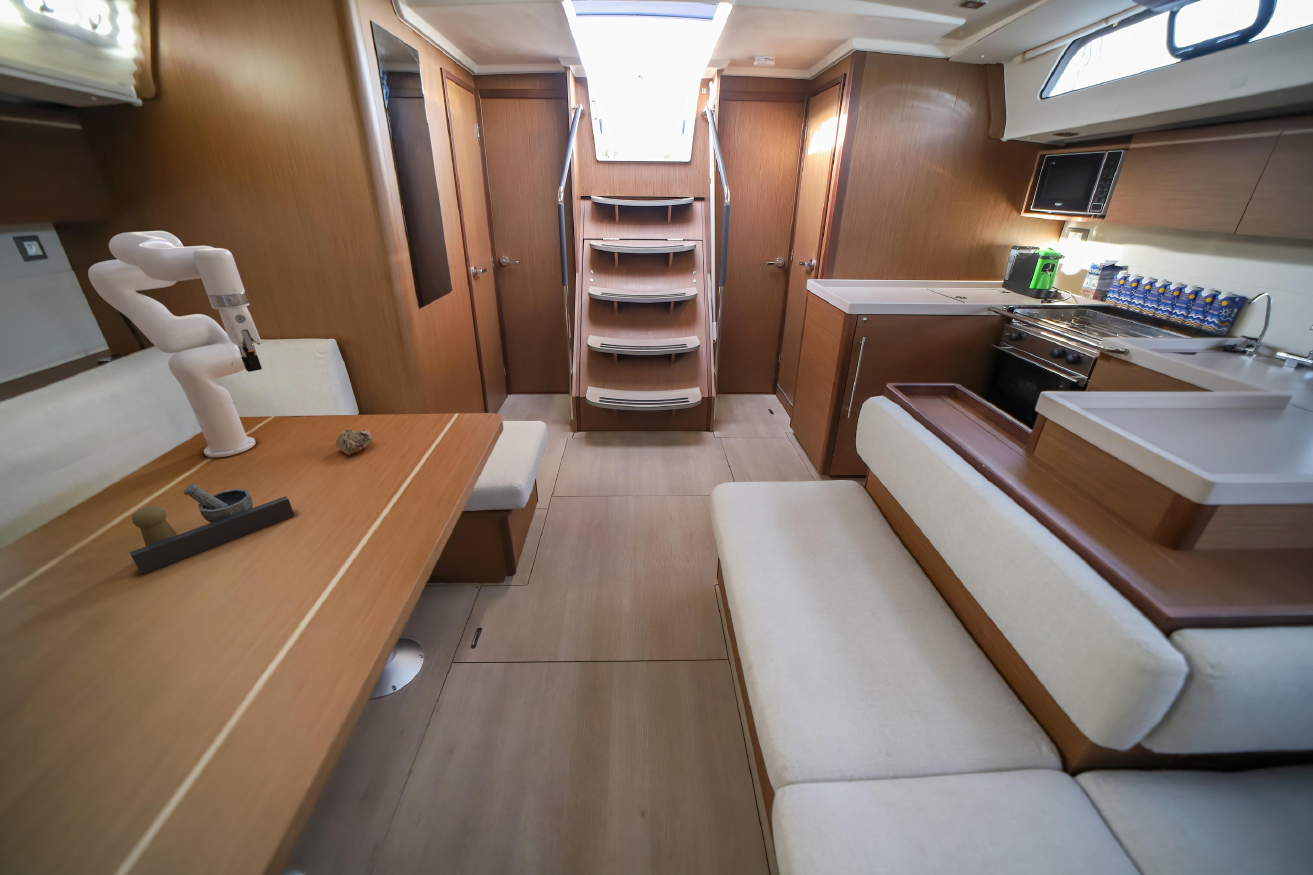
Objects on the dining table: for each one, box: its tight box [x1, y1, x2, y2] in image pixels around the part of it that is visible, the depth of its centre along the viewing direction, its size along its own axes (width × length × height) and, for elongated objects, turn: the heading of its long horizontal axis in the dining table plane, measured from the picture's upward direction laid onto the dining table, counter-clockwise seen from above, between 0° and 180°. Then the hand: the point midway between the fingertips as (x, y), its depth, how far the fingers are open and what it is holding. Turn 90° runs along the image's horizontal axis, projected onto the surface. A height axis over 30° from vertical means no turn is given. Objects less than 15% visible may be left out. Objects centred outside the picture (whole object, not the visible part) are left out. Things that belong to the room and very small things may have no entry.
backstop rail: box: [129, 495, 295, 576], centre depth 113 cm, size 2×28×5 cm, turn 140°
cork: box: [131, 505, 178, 547], centre depth 109 cm, size 6×6×11 cm
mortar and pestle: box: [183, 483, 254, 523], centre depth 118 cm, size 11×9×12 cm
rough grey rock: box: [335, 428, 373, 456], centre depth 155 cm, size 11×7×10 cm
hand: (254, 369), depth 134 cm, fingers closed
